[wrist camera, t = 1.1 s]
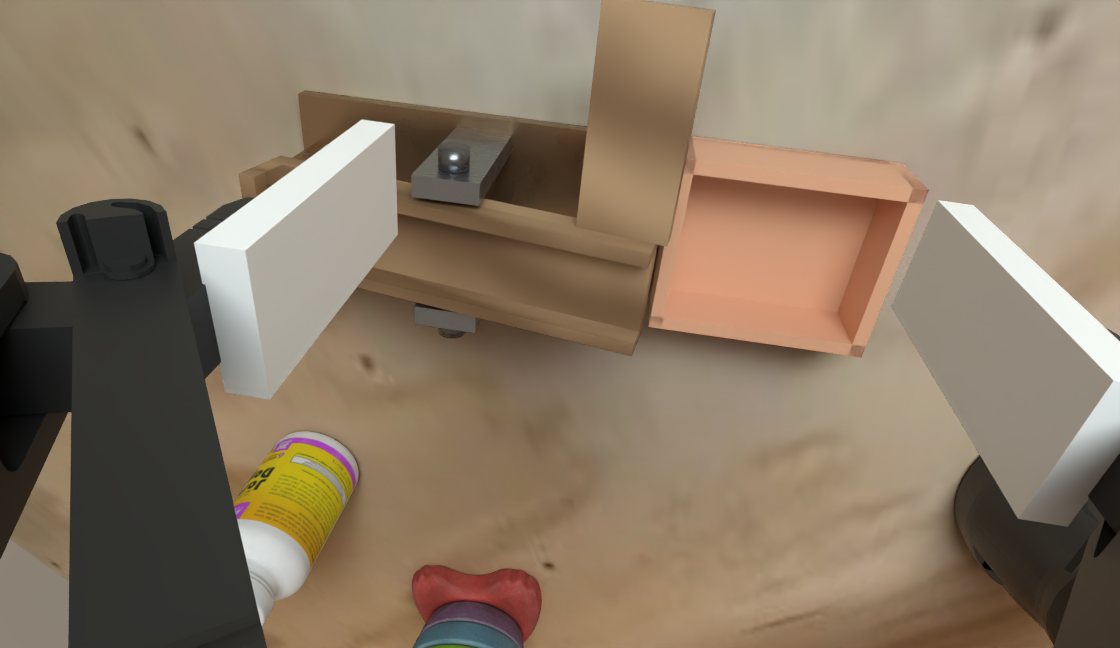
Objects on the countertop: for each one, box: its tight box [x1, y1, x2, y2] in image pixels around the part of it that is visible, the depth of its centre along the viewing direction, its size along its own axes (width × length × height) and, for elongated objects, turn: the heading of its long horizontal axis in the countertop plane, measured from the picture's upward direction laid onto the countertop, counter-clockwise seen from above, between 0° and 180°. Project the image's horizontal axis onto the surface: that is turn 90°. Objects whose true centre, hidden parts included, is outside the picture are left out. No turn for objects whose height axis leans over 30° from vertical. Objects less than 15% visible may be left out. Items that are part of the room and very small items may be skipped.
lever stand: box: [293, 91, 587, 338], centre depth 34 cm, size 10×20×8 cm, turn 84°
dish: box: [649, 136, 929, 357], centre depth 35 cm, size 9×11×4 cm
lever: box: [239, 0, 716, 356], centre depth 29 cm, size 14×20×3 cm
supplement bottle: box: [233, 431, 359, 626], centre depth 45 cm, size 7×7×13 cm
